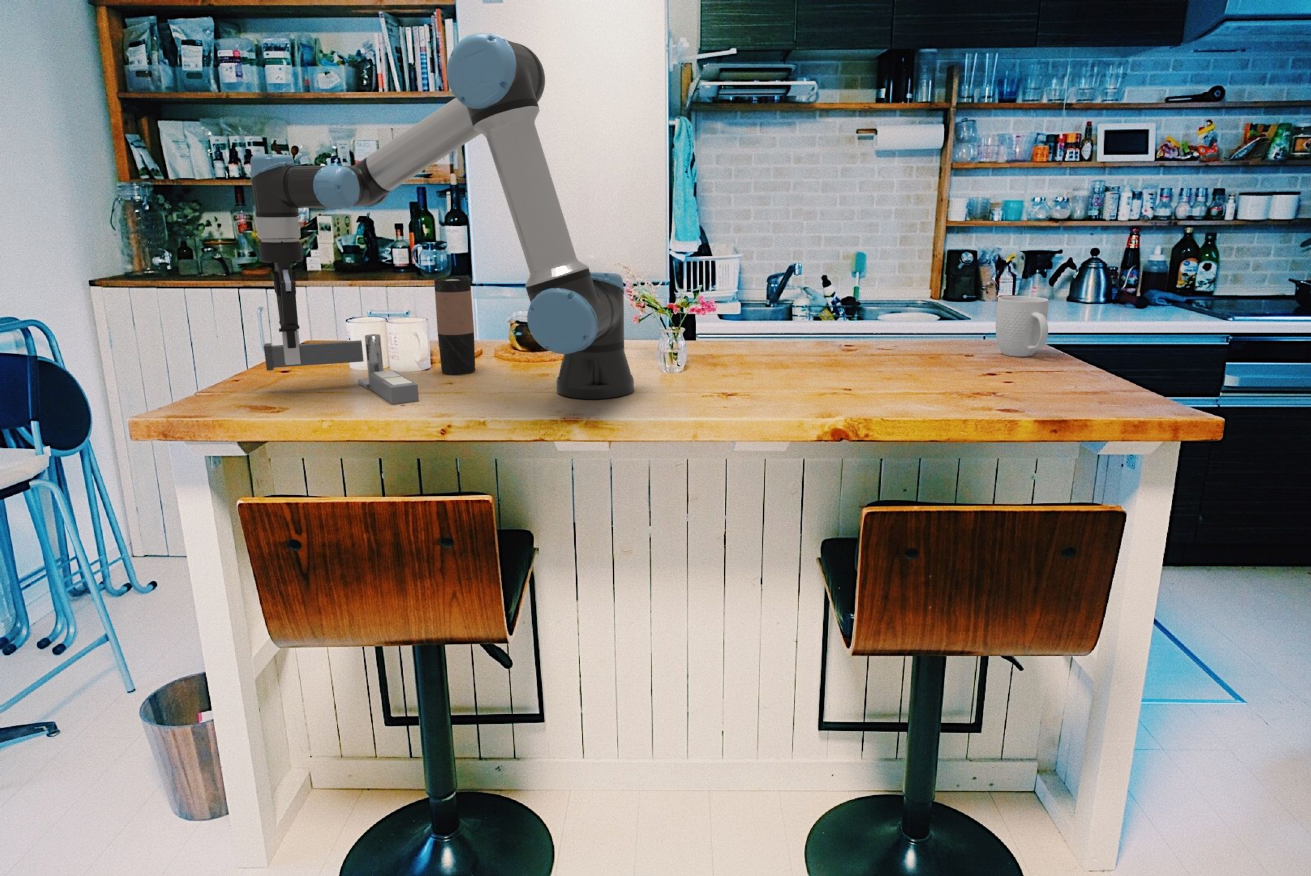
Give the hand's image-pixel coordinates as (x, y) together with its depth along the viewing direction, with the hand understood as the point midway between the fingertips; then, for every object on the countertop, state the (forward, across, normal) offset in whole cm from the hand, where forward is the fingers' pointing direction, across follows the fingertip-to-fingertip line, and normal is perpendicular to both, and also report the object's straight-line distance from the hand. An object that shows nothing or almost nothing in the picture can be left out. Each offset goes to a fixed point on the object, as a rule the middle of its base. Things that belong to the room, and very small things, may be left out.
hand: (292, 363), depth 173 cm
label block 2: (+6, -15, -17) cm, 23 cm away
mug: (+4, -43, -154) cm, 160 cm away
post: (+5, 0, -16) cm, 17 cm away
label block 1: (+5, -8, -16) cm, 19 cm away
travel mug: (+5, +3, -34) cm, 34 cm away
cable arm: (+1, +1, -4) cm, 5 cm away
